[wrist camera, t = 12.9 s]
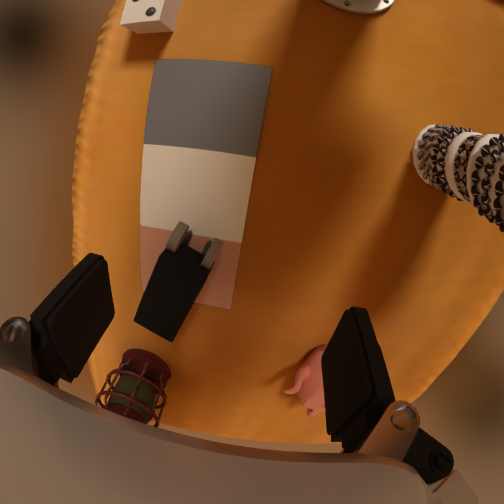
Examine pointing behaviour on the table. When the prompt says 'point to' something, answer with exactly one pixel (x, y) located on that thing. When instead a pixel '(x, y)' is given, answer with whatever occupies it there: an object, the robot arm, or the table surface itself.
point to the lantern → (137, 386)
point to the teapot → (310, 383)
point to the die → (150, 15)
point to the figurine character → (175, 283)
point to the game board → (201, 162)
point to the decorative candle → (464, 167)
